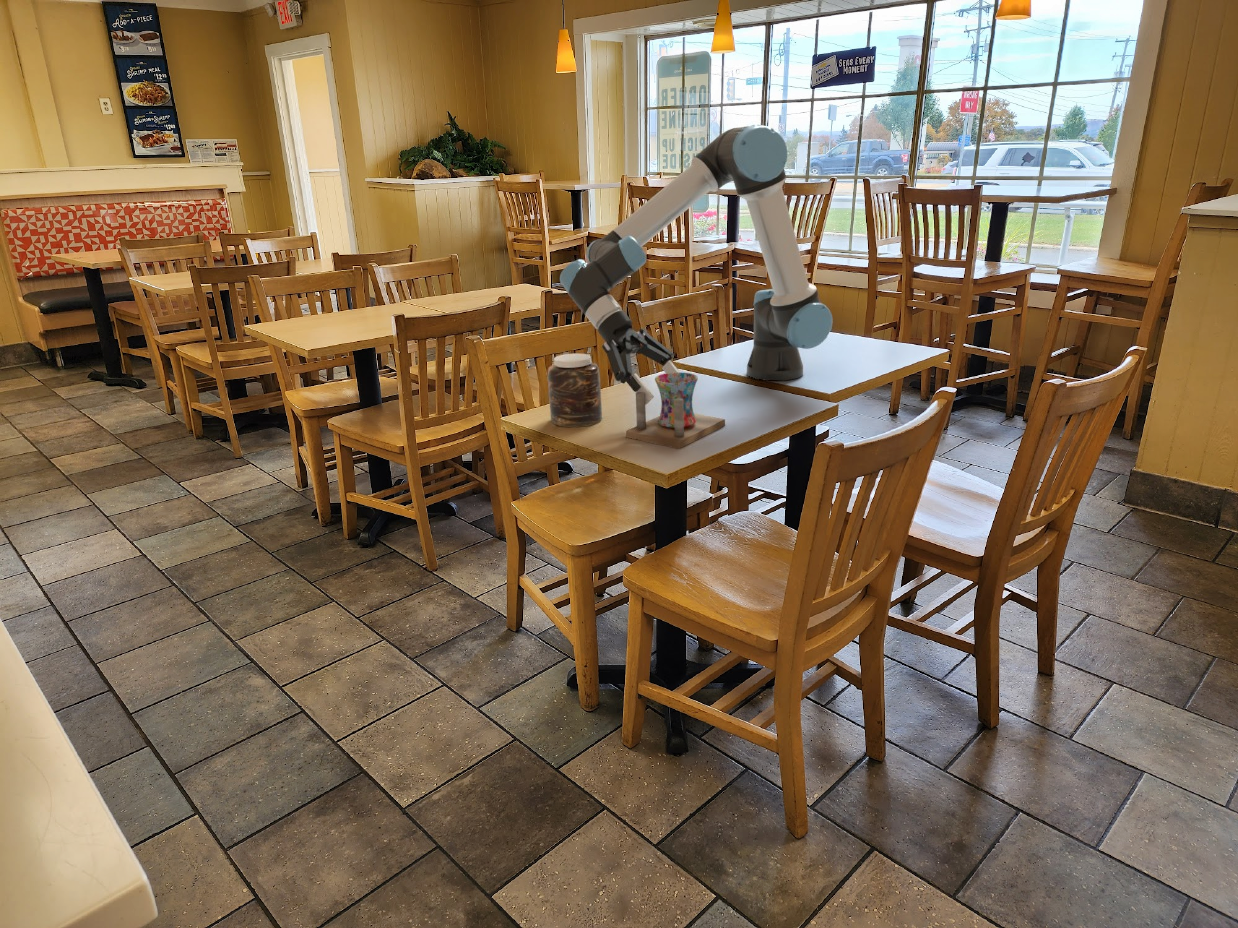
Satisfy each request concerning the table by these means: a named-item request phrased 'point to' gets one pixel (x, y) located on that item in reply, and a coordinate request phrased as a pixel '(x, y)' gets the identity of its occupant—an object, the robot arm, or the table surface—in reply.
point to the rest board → (671, 436)
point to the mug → (676, 396)
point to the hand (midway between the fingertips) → (666, 393)
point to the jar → (574, 391)
